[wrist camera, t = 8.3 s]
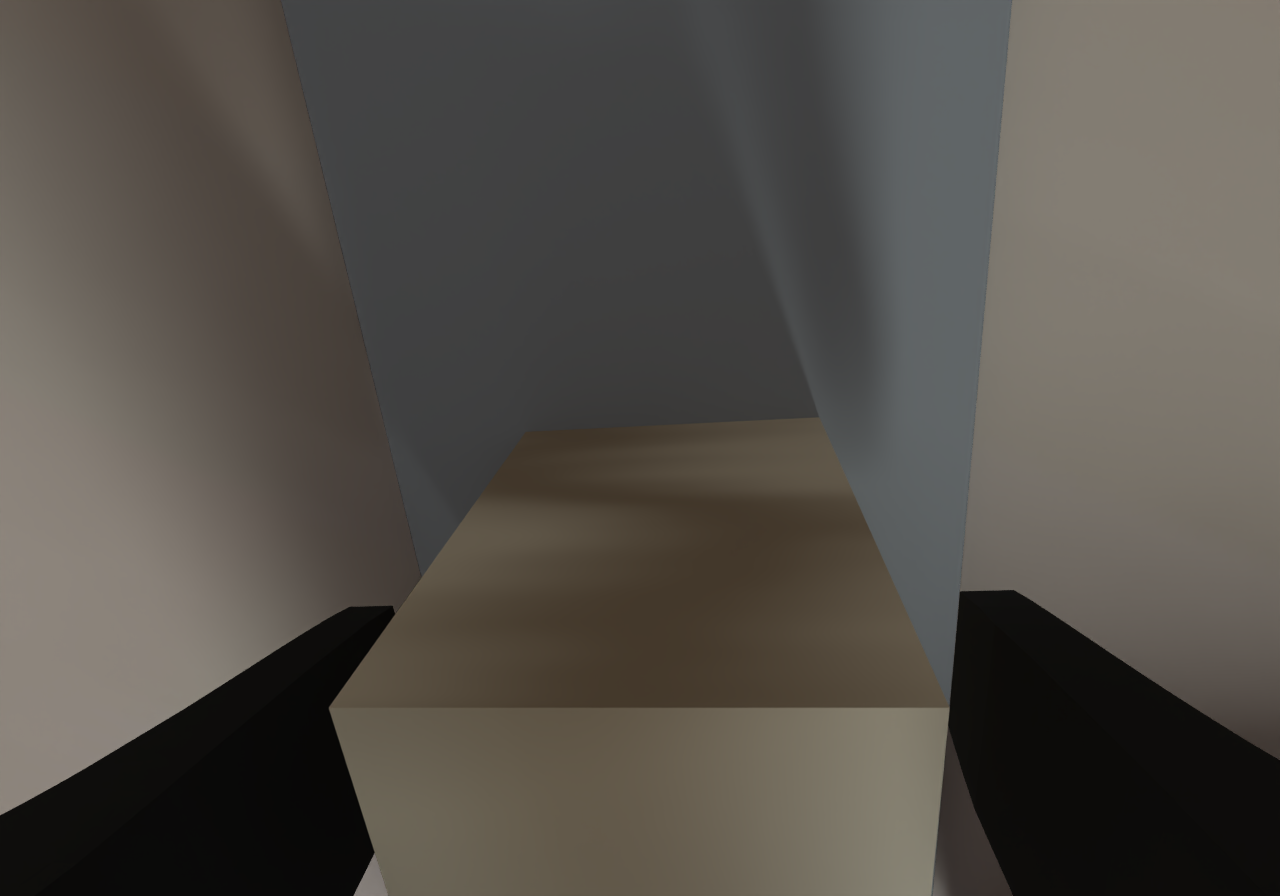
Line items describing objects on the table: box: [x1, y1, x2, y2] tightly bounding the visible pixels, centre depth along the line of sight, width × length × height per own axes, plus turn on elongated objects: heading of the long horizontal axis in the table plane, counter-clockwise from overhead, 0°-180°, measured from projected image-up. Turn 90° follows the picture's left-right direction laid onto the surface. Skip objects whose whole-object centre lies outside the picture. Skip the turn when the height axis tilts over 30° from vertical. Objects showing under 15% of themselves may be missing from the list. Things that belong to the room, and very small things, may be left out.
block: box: [329, 417, 950, 896], centre depth 9 cm, size 4×4×6 cm
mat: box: [281, 0, 1012, 896], centre depth 12 cm, size 9×19×1 cm, turn 6°
